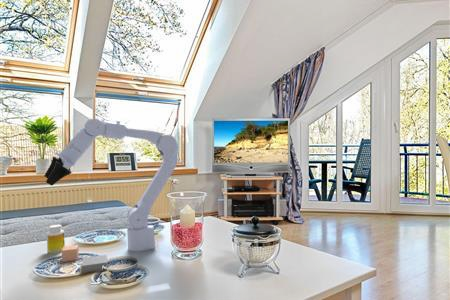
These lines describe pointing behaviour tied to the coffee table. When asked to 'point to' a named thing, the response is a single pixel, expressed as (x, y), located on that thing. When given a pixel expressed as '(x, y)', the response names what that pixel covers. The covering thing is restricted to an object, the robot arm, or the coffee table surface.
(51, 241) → the supplement bottle
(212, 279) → the coffee table surface
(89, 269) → the gray slab
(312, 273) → the coffee table surface
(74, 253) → the terracotta block
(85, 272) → the walnut slab
